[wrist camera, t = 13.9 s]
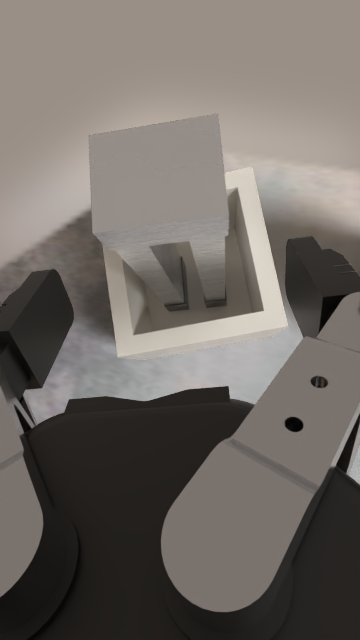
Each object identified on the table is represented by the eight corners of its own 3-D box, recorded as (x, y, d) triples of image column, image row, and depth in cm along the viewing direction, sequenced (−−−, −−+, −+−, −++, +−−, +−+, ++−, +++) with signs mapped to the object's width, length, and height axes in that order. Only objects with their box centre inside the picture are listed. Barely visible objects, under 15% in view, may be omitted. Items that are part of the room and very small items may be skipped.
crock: (145, 360, 24) (118, 357, 18) (128, 243, 26) (96, 202, 20) (271, 337, 24) (287, 326, 17) (245, 217, 25) (252, 166, 19)
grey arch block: (169, 311, 24) (92, 233, 10) (166, 267, 24) (88, 135, 10) (226, 305, 23) (228, 215, 10) (222, 261, 24) (218, 113, 10)
